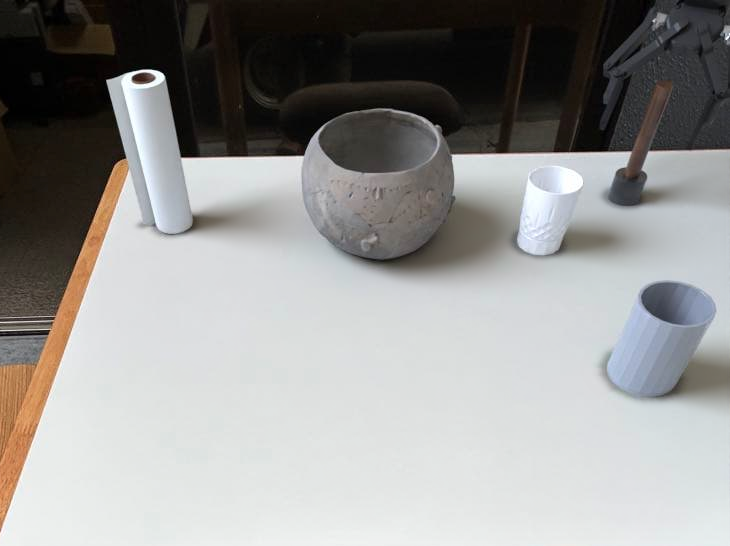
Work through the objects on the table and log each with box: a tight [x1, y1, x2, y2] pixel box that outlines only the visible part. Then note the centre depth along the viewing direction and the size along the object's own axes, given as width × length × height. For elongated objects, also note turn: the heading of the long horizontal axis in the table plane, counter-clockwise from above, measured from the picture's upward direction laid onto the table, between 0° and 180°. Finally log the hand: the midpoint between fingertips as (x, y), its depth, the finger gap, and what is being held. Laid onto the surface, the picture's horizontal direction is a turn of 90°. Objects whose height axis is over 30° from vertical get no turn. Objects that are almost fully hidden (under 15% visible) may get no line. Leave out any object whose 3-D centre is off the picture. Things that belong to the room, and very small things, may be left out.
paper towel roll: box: [106, 69, 194, 235], centre depth 99 cm, size 7×6×21 cm
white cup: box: [516, 165, 585, 256], centre depth 99 cm, size 8×8×10 cm
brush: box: [607, 80, 674, 207], centre depth 102 cm, size 5×5×17 cm
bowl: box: [300, 107, 457, 261], centre depth 99 cm, size 23×23×15 cm
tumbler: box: [606, 279, 717, 398], centre depth 82 cm, size 9×9×11 cm
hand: (645, 136), depth 101 cm, fingers open, 13 cm apart
